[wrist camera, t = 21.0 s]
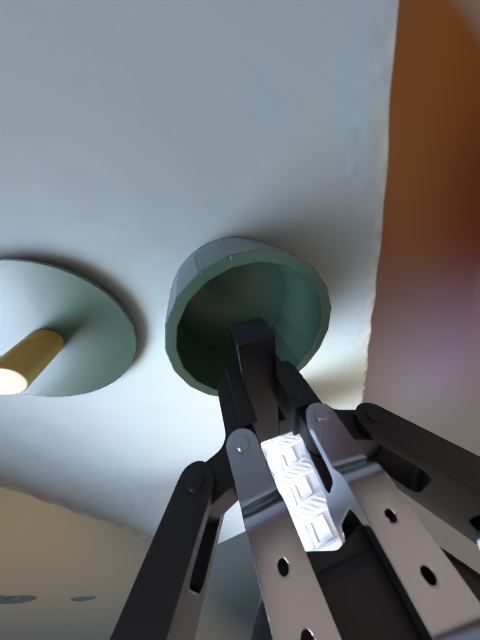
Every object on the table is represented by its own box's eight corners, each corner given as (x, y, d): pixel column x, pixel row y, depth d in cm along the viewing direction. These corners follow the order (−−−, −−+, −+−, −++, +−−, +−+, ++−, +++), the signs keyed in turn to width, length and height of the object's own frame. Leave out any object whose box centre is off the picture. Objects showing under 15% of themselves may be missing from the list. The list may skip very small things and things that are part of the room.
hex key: (228, 324, 10) (236, 345, 8) (311, 303, 10) (334, 319, 9) (246, 420, 14) (254, 445, 12) (304, 401, 15) (318, 422, 13)
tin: (150, 251, 17) (131, 273, 11) (289, 226, 19) (342, 233, 13) (190, 361, 24) (192, 414, 18) (288, 334, 26) (322, 373, 20)
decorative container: (254, 434, 36) (305, 593, 21) (240, 398, 30) (299, 587, 15) (308, 411, 37) (394, 547, 22) (306, 372, 31) (423, 523, 16)
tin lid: (-126, 277, 13) (-319, 317, 8) (96, 241, 16) (53, 255, 11) (22, 404, 21) (-30, 466, 16) (157, 367, 23) (150, 411, 18)
